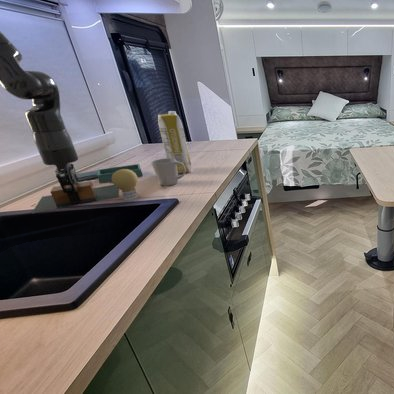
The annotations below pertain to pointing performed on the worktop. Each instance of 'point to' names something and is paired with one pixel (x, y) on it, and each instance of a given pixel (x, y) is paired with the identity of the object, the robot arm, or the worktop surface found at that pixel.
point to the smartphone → (87, 175)
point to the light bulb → (126, 183)
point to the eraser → (83, 189)
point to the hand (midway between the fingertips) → (77, 200)
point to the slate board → (101, 192)
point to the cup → (167, 171)
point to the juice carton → (174, 140)
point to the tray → (106, 174)
